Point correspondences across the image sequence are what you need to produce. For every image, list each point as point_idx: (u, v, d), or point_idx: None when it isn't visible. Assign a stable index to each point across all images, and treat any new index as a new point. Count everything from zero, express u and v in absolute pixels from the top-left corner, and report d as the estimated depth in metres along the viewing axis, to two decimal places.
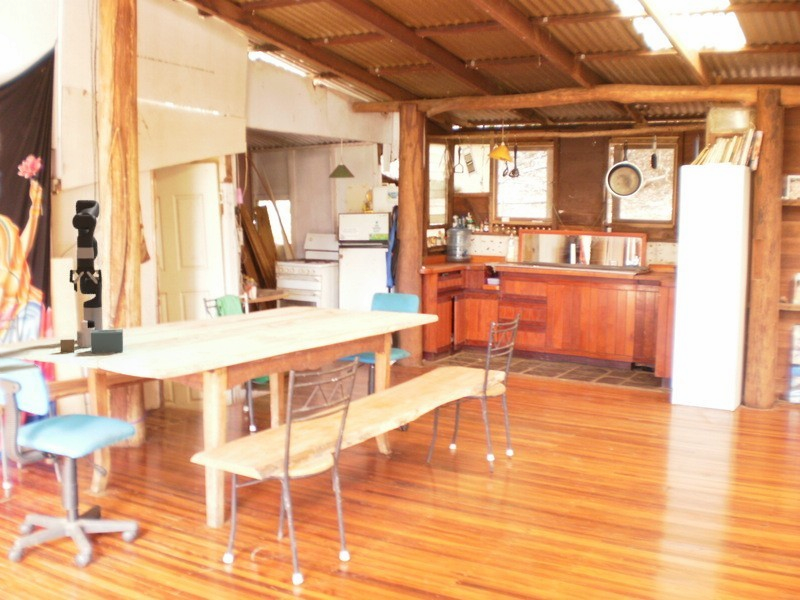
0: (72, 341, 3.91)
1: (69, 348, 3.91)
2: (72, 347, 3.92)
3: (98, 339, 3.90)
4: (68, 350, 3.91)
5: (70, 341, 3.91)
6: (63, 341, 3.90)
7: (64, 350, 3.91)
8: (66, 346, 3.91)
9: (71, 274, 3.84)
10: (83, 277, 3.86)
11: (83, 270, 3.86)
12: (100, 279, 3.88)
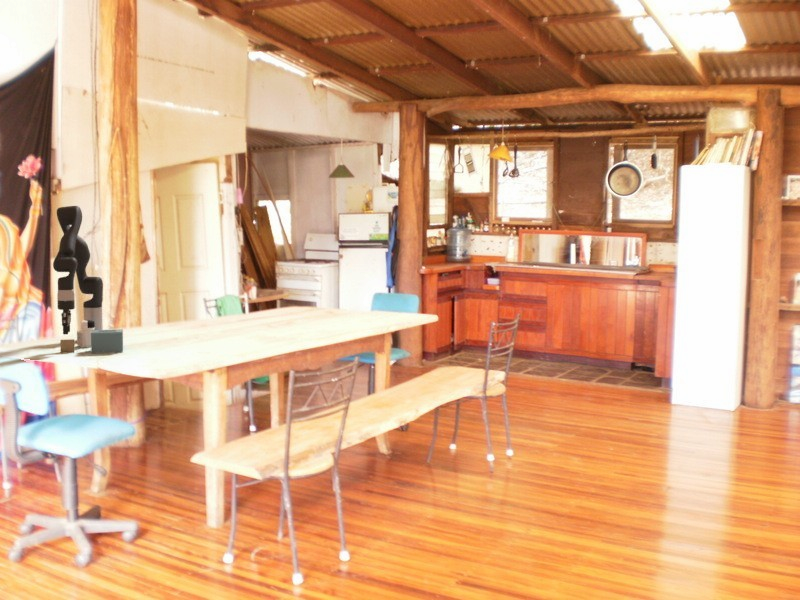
0: (72, 341, 3.91)
1: (69, 348, 3.91)
2: (72, 347, 3.92)
3: (98, 339, 3.90)
4: (68, 350, 3.91)
5: (70, 341, 3.91)
6: (63, 341, 3.90)
7: (64, 350, 3.91)
8: (66, 346, 3.91)
9: (67, 317, 3.85)
10: None
11: (68, 312, 3.90)
12: None
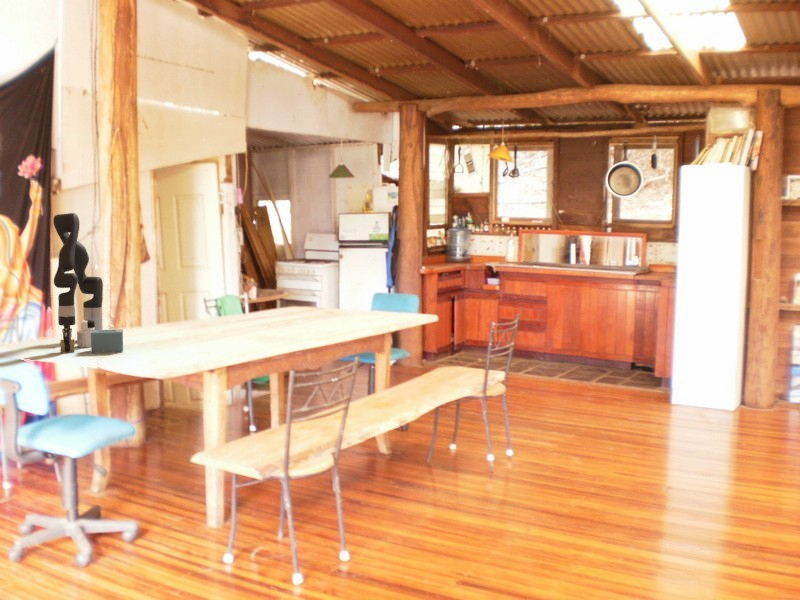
0: (72, 341, 3.91)
1: None
2: (72, 347, 3.92)
3: (98, 339, 3.90)
4: None
5: (70, 341, 3.91)
6: (63, 341, 3.90)
7: (64, 350, 3.91)
8: None
9: (68, 336, 3.87)
10: None
11: (69, 328, 3.90)
12: (70, 338, 3.95)
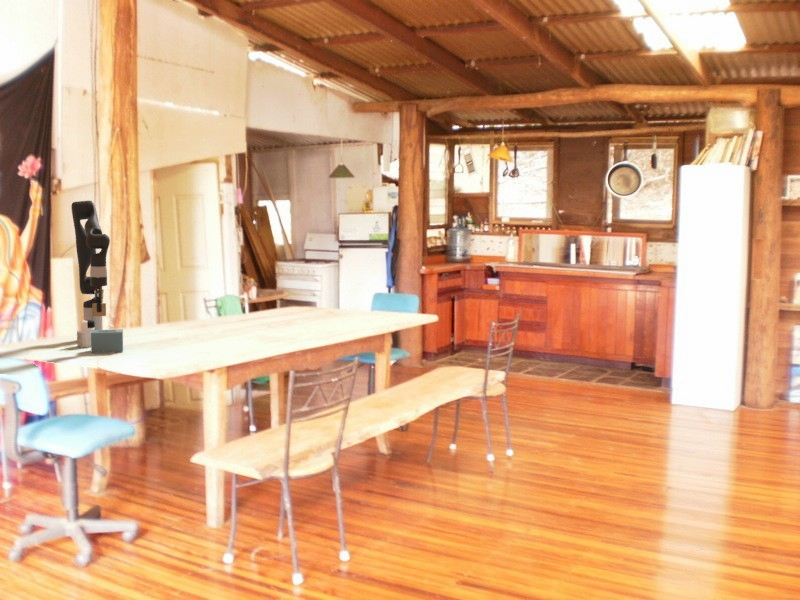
0: (104, 305, 3.93)
1: (101, 312, 3.93)
2: (104, 311, 3.93)
3: (98, 339, 3.90)
4: (100, 314, 3.93)
5: (102, 305, 3.93)
6: (95, 305, 3.92)
7: (96, 314, 3.92)
8: None
9: (100, 296, 3.89)
10: None
11: (101, 288, 3.92)
12: (102, 299, 3.97)
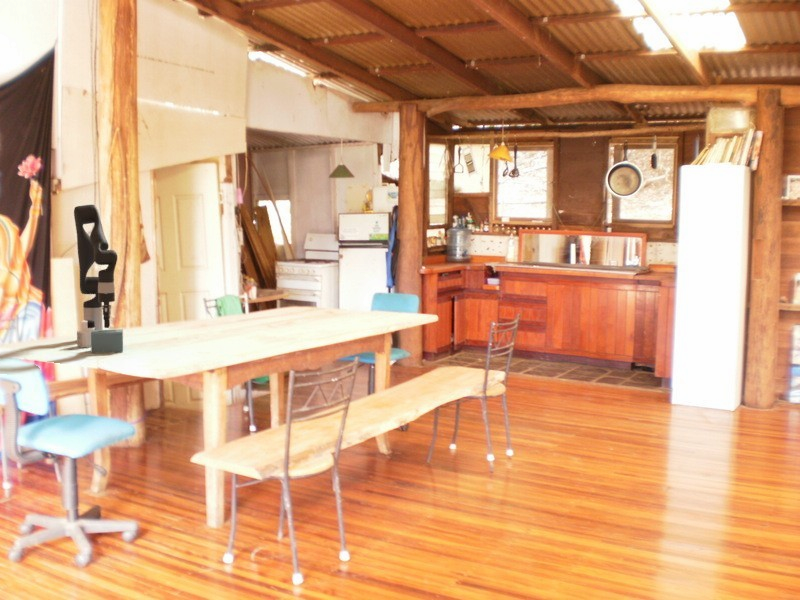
0: None
1: None
2: None
3: (98, 339, 3.90)
4: None
5: None
6: None
7: None
8: None
9: (108, 311, 3.90)
10: (109, 310, 3.95)
11: None
12: None
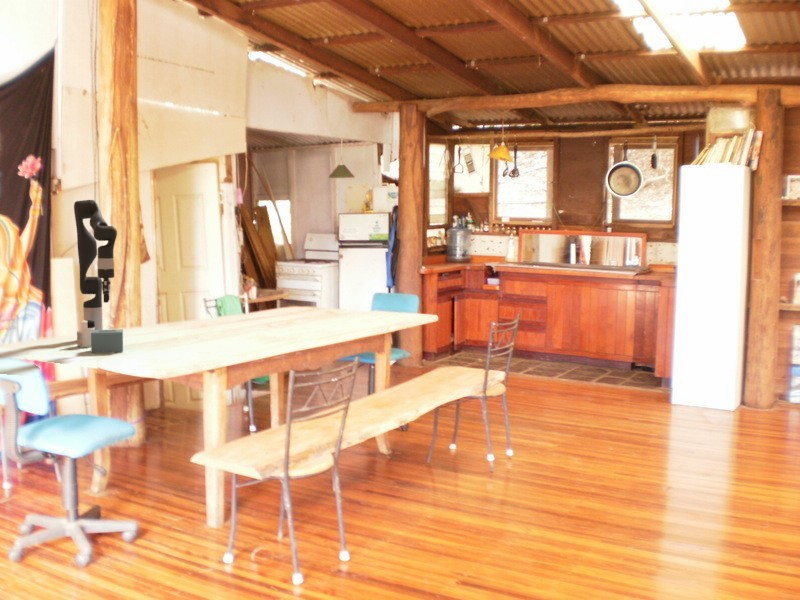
0: None
1: None
2: None
3: (98, 339, 3.90)
4: None
5: None
6: None
7: None
8: None
9: (108, 285, 3.88)
10: None
11: (108, 280, 3.93)
12: None
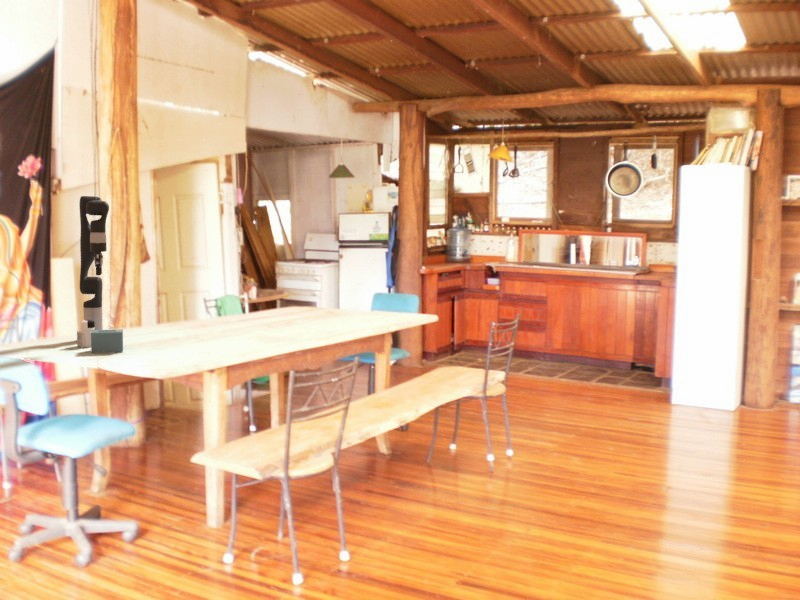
0: None
1: None
2: None
3: (98, 339, 3.90)
4: None
5: None
6: None
7: None
8: None
9: (100, 258, 3.99)
10: None
11: (100, 254, 4.04)
12: None
